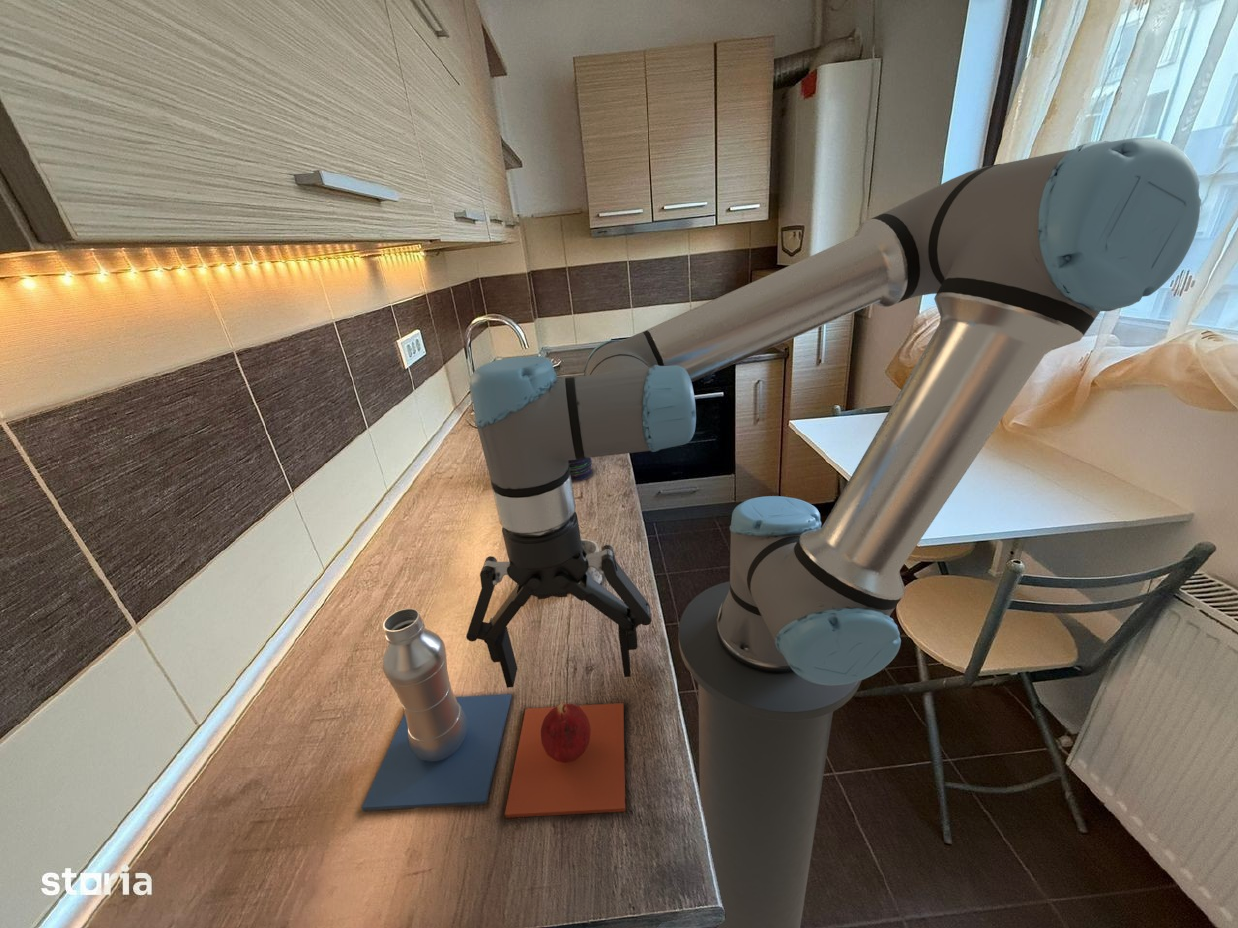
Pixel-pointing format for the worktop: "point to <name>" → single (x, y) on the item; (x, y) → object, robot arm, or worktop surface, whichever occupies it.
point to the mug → (589, 548)
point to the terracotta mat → (570, 768)
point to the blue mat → (443, 763)
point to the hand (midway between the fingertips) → (569, 672)
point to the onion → (565, 732)
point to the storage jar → (580, 469)
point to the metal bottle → (423, 686)
